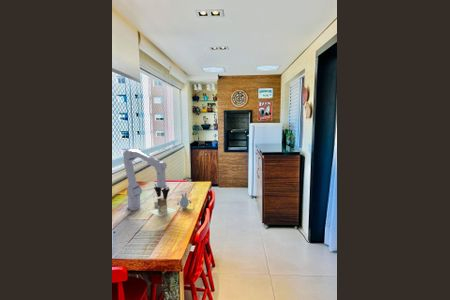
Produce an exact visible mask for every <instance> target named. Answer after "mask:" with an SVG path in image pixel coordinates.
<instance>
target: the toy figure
mask: <svg viewBox="0 0 450 300" xmlns="http://www.w3.org/2000/svg"><path fill="white" fill-rule="evenodd" d="M192 203H193V201H192V200H191V199H190V200H189V199H188V197H187V192H185V193H181V198H180V201H178V202H177V204H176V205H177V206H179V205H180V207H182V208H181V210H187V209H188V206H189V204H192Z"/></svg>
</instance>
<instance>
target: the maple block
mask: <svg viewBox="0 0 450 300" xmlns="http://www.w3.org/2000/svg"><path fill="white" fill-rule="evenodd" d="M167 207H168V205H165V206H162V207H161V206H158V207H157V209H158V211H159V212H161V213H163V212H166V211H167Z"/></svg>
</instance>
